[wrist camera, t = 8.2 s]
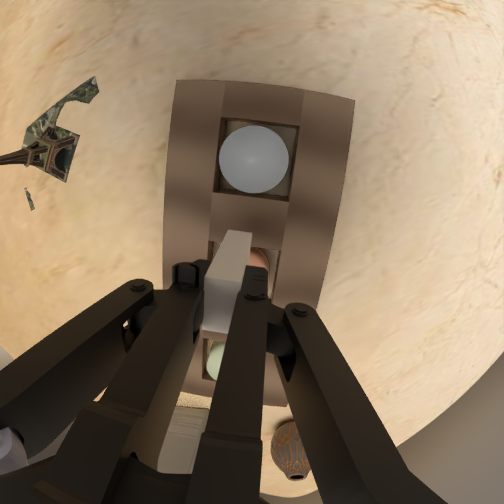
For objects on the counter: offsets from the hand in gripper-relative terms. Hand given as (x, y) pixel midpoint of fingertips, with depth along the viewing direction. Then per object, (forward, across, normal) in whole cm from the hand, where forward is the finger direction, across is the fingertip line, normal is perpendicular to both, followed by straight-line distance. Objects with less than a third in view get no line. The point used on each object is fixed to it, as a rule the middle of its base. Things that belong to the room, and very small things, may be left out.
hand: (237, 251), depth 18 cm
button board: (+8, 0, -4) cm, 9 cm away
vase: (+7, +10, -28) cm, 31 cm away
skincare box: (+7, -5, -30) cm, 32 cm away
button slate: (+6, 0, +6) cm, 8 cm away
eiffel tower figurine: (+9, -22, +6) cm, 24 cm away
